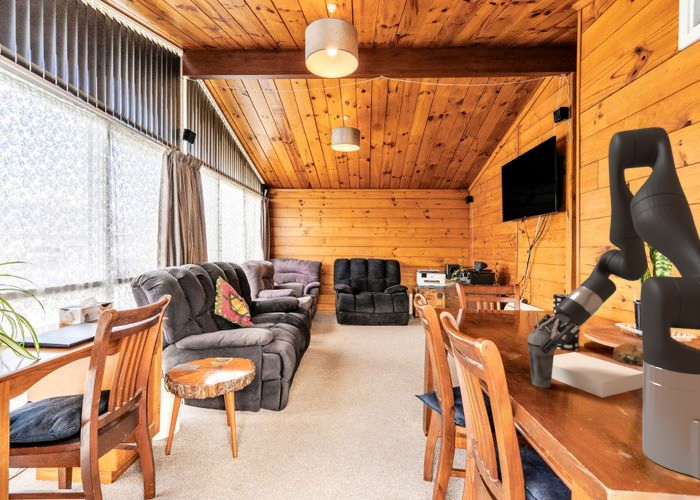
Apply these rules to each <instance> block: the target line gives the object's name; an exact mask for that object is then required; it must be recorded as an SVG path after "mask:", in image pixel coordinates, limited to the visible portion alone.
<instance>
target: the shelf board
mask: <svg viewBox="0 0 700 500" xmlns="http://www.w3.org/2000/svg"><path fill="white" fill-rule="evenodd" d="M551 379H553V380H555V381H558V382H561V383H562V384H566V385H568V386H571V387H573V388H577V389H579V390H582V391H583V392H587V393H589V394H592V395H594V396H597V397H600V398H602V399H603V398H607V397H611V396H614V395H618V394H619V395H620V394H622V393H623V394H624V393H626V392H631V391H636V390H639V389H643V370H638V369H634V368H630V367H627V366H625V365H624V366H623V365H620V364H617V363H614V362H611V361H607V360H603V359H599V358H596V357H593V356H589V355H586V354H584V353H583V354H582V353H579V352H576V351H571V352H568V353H562V354H560V353H559V354H554V358H553V368H552V378H551Z"/></svg>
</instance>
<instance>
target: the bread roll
mask: <svg viewBox="0 0 700 500" xmlns="http://www.w3.org/2000/svg"><path fill="white" fill-rule="evenodd" d="M612 351H613V352H612V358H613V359H614V360H615V362H618V363H620V364H621V363H622V364H625V365H631V366H643V346H641V345H639V344H638V343H634V342H623V343H621V344H619V345H617V346H615V347H614V349H613V350H612Z"/></svg>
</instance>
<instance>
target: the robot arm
mask: <svg viewBox="0 0 700 500" xmlns="http://www.w3.org/2000/svg"><path fill="white" fill-rule="evenodd" d="M609 141H610V142H609V145H608V154H607V156H608V157H607V160H608V181H609V183H608V184H609V196H610V197H609V198H610V225H609V234H608V235H609V237H608V239H609V242H610V243H611V244H612V245H613V246H615V247H616V248H617V249H616V248H614V249H609V250H607V251H605V252H603V254H601V255H600V257H599V258H598V260H597V262H596V265H595V266H594V268H593V269H592V271H591V273H590V275H589V276H588V277H587V278H586V279H585V280H584V281H582V283H581V284H580V285H578V287H576V288H575V289H574V290H572V291H571V292H570V293H569V294H568V296H567V297H566V298H565V299H564V300H563V301H562V302H561V303H560V304H559V305H558V306H557V307H556V308H555V309H556V311H557V314H556V315H554V316H553V315H552V316H551V315H550V314H549V313H547V314H545V315H544V316H543V317H542V318H541V319H540V320H539V327H540V329H545V330H547V331H549V332H550V333H551V334H552V335H551V337H550V339H548V340H547V341H546V342H545V343H544V344H543V345H542V346H541V347H540V350H541V351H542V352H543V353H545V354H547V353H548V352H549V351H551V350H552V349H553V348H554V347H555V346H556V345H560V344H561V345H563V346H564V345H566V344H567V343H568V342H569V341H570V340H571V339H572V338H573V337H574V336H575V335H576V334H578V333H580V332H581V329H580V328H581V327H582V326H583V325H584V324H585V323H586V322H588V320H589V319H590V318H591V317H593V315H594V314H595V313H596V312H597V311H599V309H600V308H601V306H602V305H603V304H604V303H605V302H607V300H609V298H611V297H612V295H614V294H615V293H616V291H617V285H616V283H615V282H614V281H613V280H612V279H610V276H611V275H613V276H615V277H617V278H621V279H623V280H625V281H629V282H636V281H638V280H639V281H640V279H643V277H644V276H645V274H646V273H647V270H648V263H649V261H648V257H647V253H646V249H645V244H644V242H645V243H646V244H647V245H649V246H650V247H651V248H653V249H654V250H655V251H657V252H658V253H659V254H661V255H662V256H664V258H665V259H667V260H668V261H669V262H671V264H672V265H673V266H674V267H675V268H676V270H677V271H678V273H679V275H680V276H649V277H647V278H646V279H645V280H644V281H643V282H642V283H641V288H640V297H639V299H640V316H641V336H642V337H641V340H642V341H641V342H642V344H641V345H642V347H643V365H642V372H643V388H642V415H641V416H642V417H641V418H642V420H641V421H642V424H641V425H642V429H641V431H642V434H641V435H642V436H641V441H642V443H641V444H642V448H641V449H642V453H643V454H644V455H645V457H646V458H648V459H649V460H651V461H652V462H654V463H656V464H658V465H660V466H661V467H663V468H666V469H669V470H671V471H675V472H677V473H681V474H684V475H689V476H691V477H694V478H696V479H698V480H700V349H699V348H696V347H693V346H691V345H688V344H685V343H682V342H681V341H678V340H677V339H675V338H673V337H672V334H671V329H681V330H682V329H683V330H696V331H700V235H699V233H698V230H697V227H696V224H695V220H694V216H693V213H692V209H691V207H690V204H689V201H688V199H687V198H688V197H686V196H687V195H686V194H685V192H684V189H683V186H682V185H681V181H680V178H679V176H678V172H677V169H676V168H677V167H676V165H675V164H676V163H675V159H674V154H673V148H672V144H671V139H670V136H669V133H668V132H667V131H666V130H665V128H663V127H661V126H651V127H643V128H635V129H628V130H626V129H625V130H622V131H621V130H620V131H617V132H615V133H614V134H613V135H612V136H611V138H610V140H609ZM637 168H650V169H651V170H652V171H651V173H650V175H649V176H648V178H647V179H646V180H645V181H644V182H643V183H642V185H641V186H640V188H639V189H638V190H637V191H636V192H635V194H633V193H632V191H631V189H630V187H629V186H628V183H627V182H626V177H625V170H627V169H637ZM577 327H579V329H578V328H577ZM670 328H671V329H670ZM533 329H534V330H536V329H538V327H537V323H536V324H535V325H534V326H533ZM565 337H567V338H566V339H565ZM563 339H564V340H563ZM527 340H528V338H527V339H526V341H527Z"/></svg>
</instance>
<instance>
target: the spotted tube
mask: <svg viewBox="0 0 700 500" xmlns="http://www.w3.org/2000/svg"><path fill="white" fill-rule="evenodd" d="M552 295H553V297H552V298H553V299H552V300H553V303H552V304H553V305H552V308H553V310H552V316H554V315H556V314H557V311H556V309H555V308H556V307H557V306H558V305H559V304H560V303H561V302H562V301H563V300H564V299H565V298H566V297H567V296H568V295H569V294H565V293H564V294H563V293H556V294H552ZM577 328H578V329H579V330H580V327H577ZM579 333H580V332H579ZM579 333H578V334H576V335H575V336H574V337H573V338H572V339H571V340H570V341H569V342H568V343H567V344H566V345H564V346H563V345H561V344H560V345H556V350H557V349H558V350H562V351H568V352H576V351H579V349H580V348H579V347H580V345H579V344H580V341H579V339H580V338H579V336H580V334H579ZM566 338H567V337H565V339H566ZM563 340H564V339H563Z"/></svg>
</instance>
